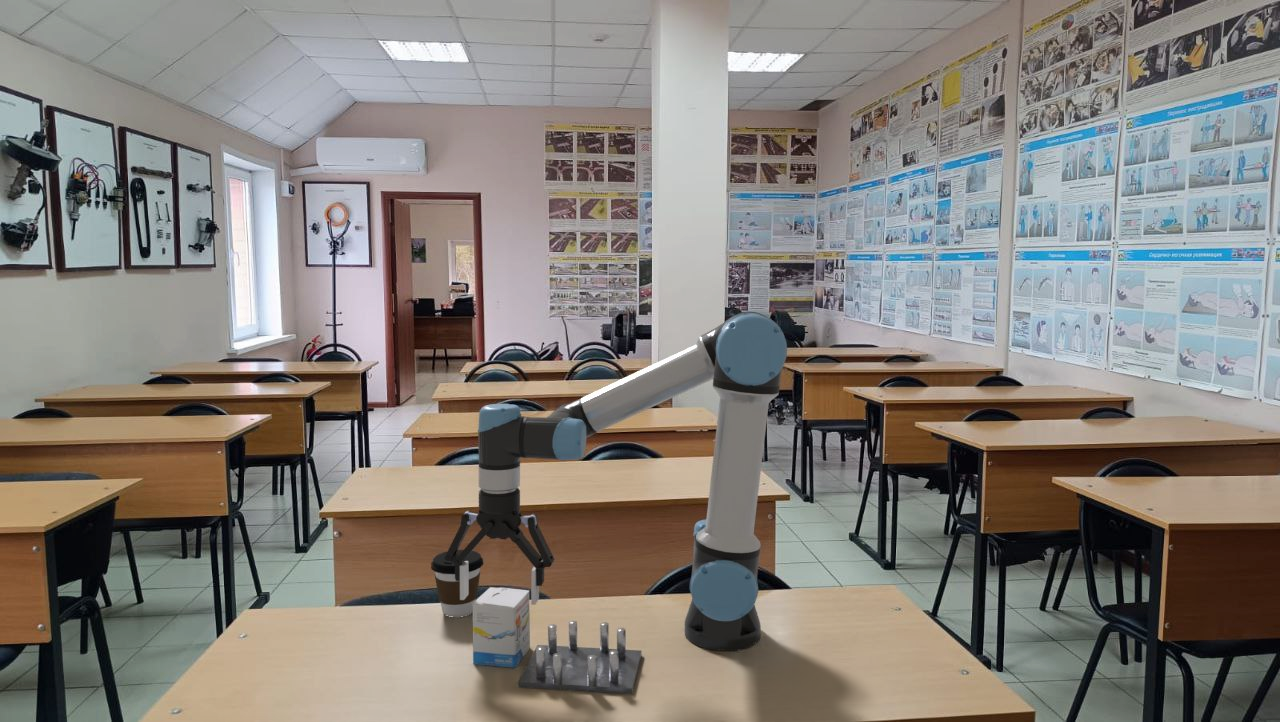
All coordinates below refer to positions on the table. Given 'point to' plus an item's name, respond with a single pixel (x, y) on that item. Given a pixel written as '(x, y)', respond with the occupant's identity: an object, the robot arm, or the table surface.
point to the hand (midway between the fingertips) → (499, 599)
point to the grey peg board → (582, 664)
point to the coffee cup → (456, 584)
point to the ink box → (501, 627)
